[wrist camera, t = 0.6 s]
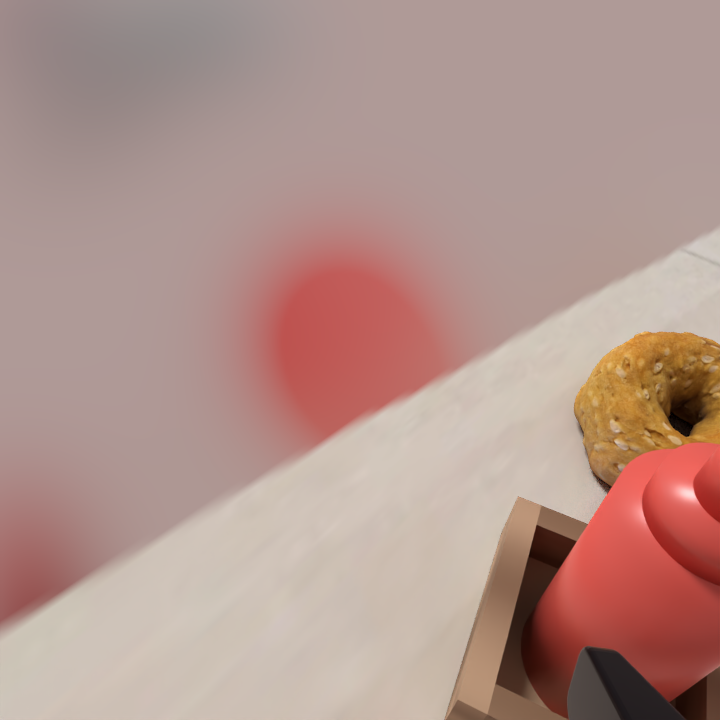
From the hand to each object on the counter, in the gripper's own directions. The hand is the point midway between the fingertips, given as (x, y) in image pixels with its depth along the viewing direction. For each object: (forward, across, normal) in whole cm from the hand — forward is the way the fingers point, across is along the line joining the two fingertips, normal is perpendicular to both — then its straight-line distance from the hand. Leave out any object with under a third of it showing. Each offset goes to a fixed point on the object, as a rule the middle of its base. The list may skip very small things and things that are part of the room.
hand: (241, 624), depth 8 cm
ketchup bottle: (+12, -11, +11) cm, 20 cm away
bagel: (+24, -17, +7) cm, 30 cm away
